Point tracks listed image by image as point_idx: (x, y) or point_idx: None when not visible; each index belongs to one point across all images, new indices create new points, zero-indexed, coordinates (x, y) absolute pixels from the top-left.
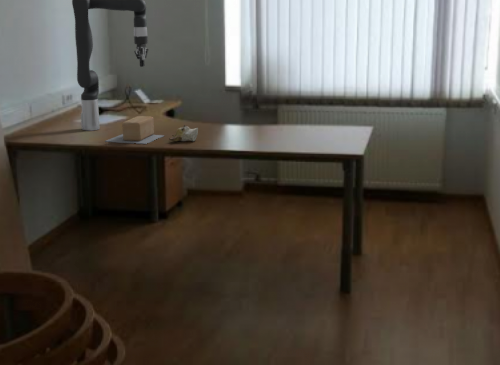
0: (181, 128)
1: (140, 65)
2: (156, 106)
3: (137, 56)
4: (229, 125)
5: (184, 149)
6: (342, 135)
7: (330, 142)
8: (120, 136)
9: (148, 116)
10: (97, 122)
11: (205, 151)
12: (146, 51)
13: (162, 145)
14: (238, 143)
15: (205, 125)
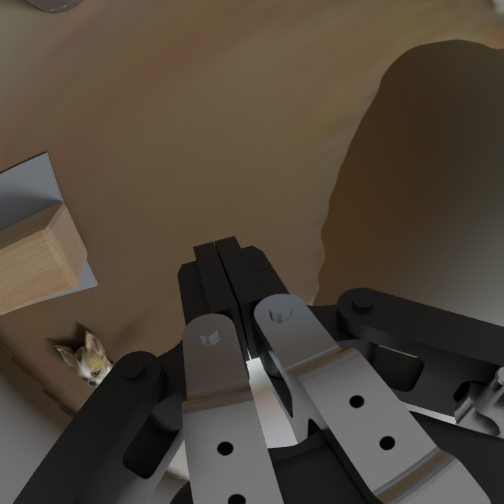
0: (84, 376)
1: (182, 274)
2: (475, 9)
3: (101, 425)
4: None
5: (47, 386)
6: (281, 443)
7: None
8: (5, 186)
9: (63, 277)
10: (54, 5)
11: (67, 411)
12: (454, 412)
13: (30, 343)
14: None
15: (294, 275)
